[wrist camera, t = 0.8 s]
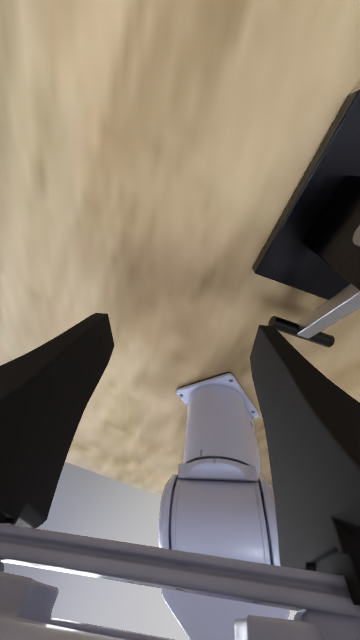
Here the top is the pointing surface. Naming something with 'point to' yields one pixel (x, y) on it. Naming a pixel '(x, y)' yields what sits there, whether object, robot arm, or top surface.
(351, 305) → the tap lever
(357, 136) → the tap bracket
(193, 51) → the top surface
